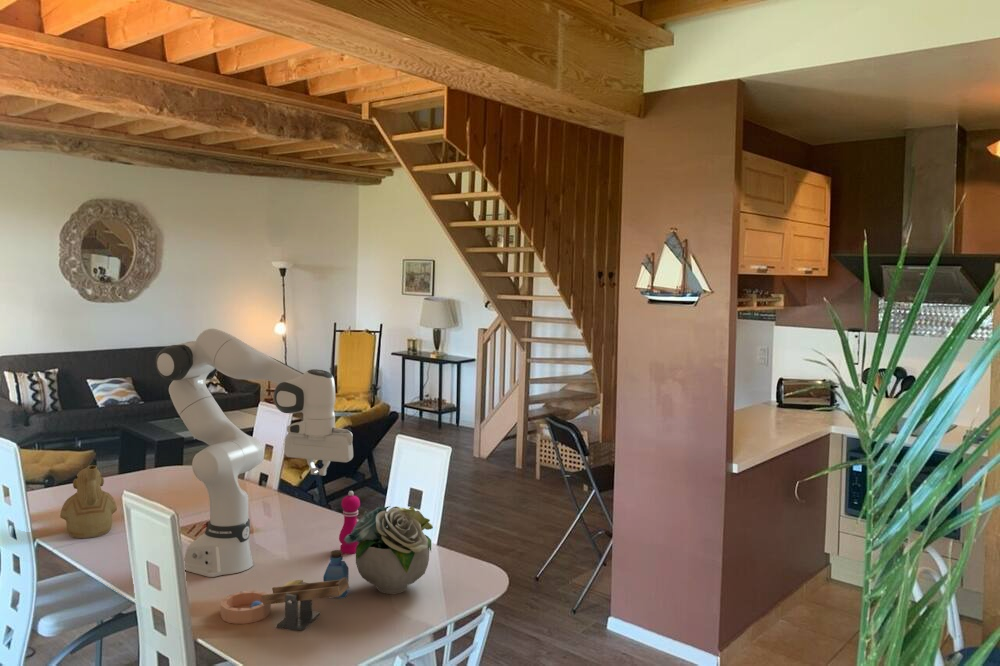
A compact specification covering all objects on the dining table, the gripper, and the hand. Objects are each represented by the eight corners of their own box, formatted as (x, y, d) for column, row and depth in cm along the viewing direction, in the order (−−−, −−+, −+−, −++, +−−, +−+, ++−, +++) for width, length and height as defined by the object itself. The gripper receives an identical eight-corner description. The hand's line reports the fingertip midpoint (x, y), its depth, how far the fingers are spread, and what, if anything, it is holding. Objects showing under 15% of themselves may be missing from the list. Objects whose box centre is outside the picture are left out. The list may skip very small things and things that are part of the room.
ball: (254, 601, 194) (260, 612, 194) (261, 596, 197) (267, 607, 197) (245, 606, 195) (251, 617, 195) (252, 602, 198) (258, 612, 198)
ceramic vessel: (113, 521, 267) (113, 452, 266) (120, 537, 251) (120, 464, 249) (58, 528, 258) (58, 457, 256) (62, 546, 242) (61, 470, 240)
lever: (263, 604, 192) (261, 593, 192) (290, 584, 205) (288, 574, 205) (339, 596, 187) (337, 584, 187) (362, 576, 200) (360, 565, 200)
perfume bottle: (326, 588, 214) (327, 548, 213) (348, 588, 215) (348, 548, 214) (323, 598, 208) (323, 556, 207) (345, 597, 208) (346, 556, 208)
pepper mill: (356, 555, 241) (357, 494, 239) (335, 553, 242) (336, 493, 241) (364, 548, 248) (365, 489, 246) (344, 545, 249) (345, 487, 248)
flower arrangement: (398, 615, 198) (400, 525, 197) (330, 592, 212) (331, 508, 210) (452, 584, 219) (454, 503, 218) (387, 565, 233) (389, 489, 231)
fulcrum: (276, 627, 189) (276, 595, 189) (296, 611, 199) (296, 580, 198) (301, 631, 187) (301, 598, 187) (320, 615, 197) (320, 583, 196)
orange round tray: (210, 620, 192) (211, 606, 192) (239, 600, 204) (239, 588, 204) (253, 626, 189) (253, 613, 189) (279, 606, 201) (279, 594, 201)
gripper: (357, 427, 212) (356, 475, 213) (293, 422, 217) (292, 469, 218) (347, 431, 206) (346, 480, 207) (281, 426, 211) (281, 474, 212)
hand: (318, 474), depth 213 cm, fingers closed
